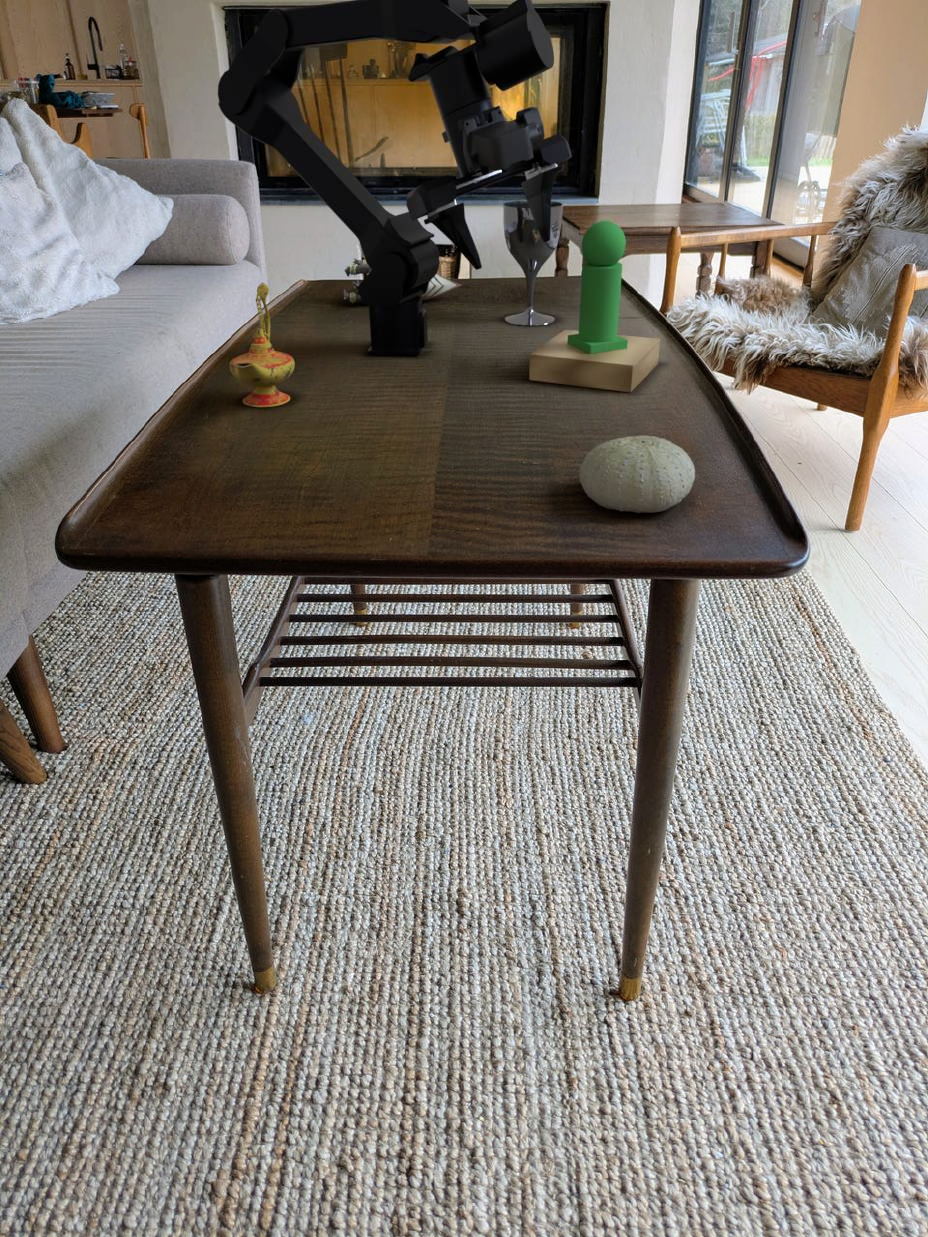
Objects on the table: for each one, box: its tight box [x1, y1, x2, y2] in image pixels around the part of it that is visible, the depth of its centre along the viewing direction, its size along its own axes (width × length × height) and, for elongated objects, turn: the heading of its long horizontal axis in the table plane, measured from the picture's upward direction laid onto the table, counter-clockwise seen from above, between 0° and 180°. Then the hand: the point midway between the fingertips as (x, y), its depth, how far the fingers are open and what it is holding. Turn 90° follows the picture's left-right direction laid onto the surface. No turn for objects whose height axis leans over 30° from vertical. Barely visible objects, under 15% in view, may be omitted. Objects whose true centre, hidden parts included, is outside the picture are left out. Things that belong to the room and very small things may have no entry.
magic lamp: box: [229, 282, 296, 408], centre depth 94 cm, size 7×18×11 cm, turn 2°
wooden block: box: [528, 329, 661, 393], centre depth 105 cm, size 12×12×3 cm
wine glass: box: [502, 200, 564, 327], centre depth 124 cm, size 8×8×15 cm
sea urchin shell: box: [578, 435, 696, 514], centre depth 74 cm, size 9×8×8 cm
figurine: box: [343, 258, 462, 304], centre depth 138 cm, size 20×6×17 cm
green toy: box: [568, 220, 628, 354], centre depth 101 cm, size 5×5×13 cm
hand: (513, 254), depth 104 cm, fingers open, 9 cm apart
